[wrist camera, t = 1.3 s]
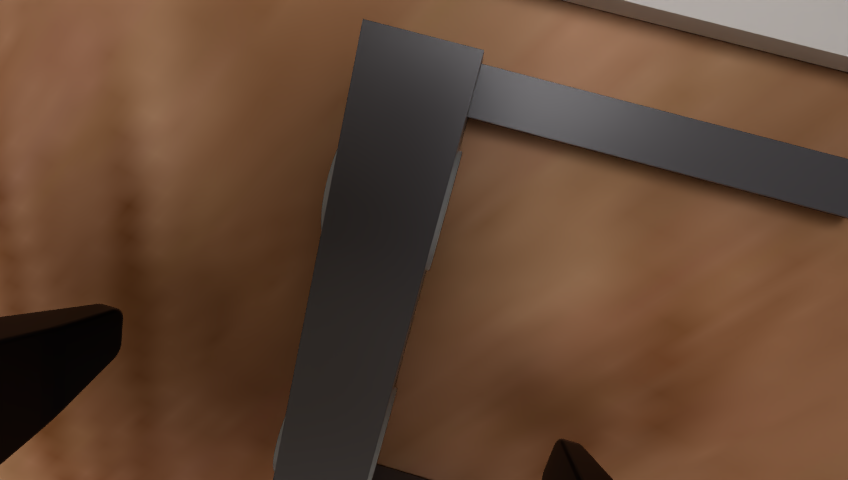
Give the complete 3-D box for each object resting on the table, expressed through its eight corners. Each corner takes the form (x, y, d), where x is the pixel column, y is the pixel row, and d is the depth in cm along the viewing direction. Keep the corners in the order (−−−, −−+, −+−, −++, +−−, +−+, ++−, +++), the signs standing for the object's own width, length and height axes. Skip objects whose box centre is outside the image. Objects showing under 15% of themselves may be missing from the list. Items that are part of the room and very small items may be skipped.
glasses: (871, 172, 11) (1019, 188, 8) (650, 576, 14) (695, 688, 12) (387, 46, 11) (358, 17, 8) (297, 470, 15) (255, 552, 12)
